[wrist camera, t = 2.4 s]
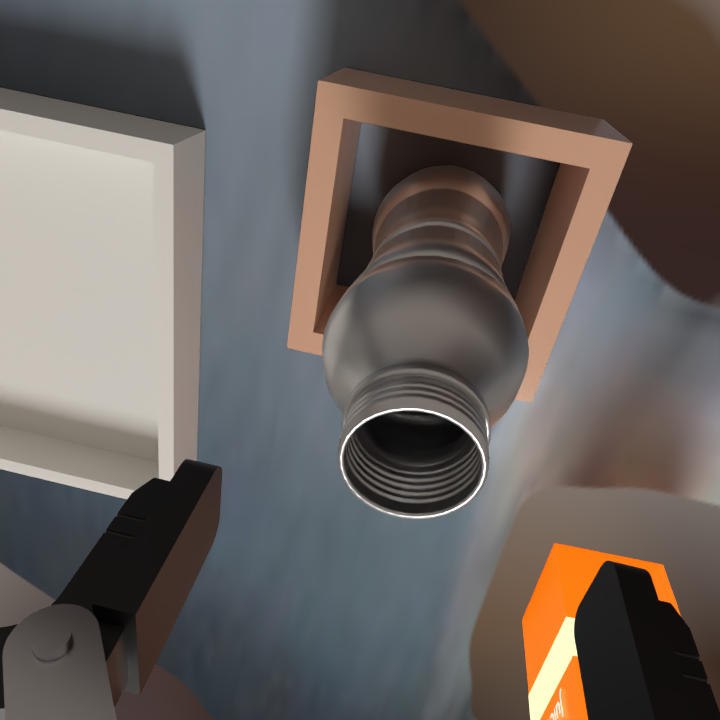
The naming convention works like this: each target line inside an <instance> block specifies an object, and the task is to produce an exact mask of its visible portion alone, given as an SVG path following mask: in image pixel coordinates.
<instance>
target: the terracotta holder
mask: <svg viewBox="0 0 720 720" xmlns="http://www.w3.org/2000/svg"><path fill="white" fill-rule="evenodd" d="M361 122H364V123H369V124H374V125H379V126H384V127H389V128H393V129H398V130H403V131H408V132H413V133H418V134H423V135H428V136H433V137H437V138H442V139H447V140H452V141H457V142H462V143H467V144H472V145H476V146H481V147H486V148H491V149H496V150H501V151H506V152H511V153H516V154H520V155H525V156H530V157H535V158H540V159H545V160H550V161H555V162H559V163H560V166H559V169H558V172H557V175H556V178H555V181H554V184H553V187H552V190H551V193H550V196H549V199H548V202H547V205H546V208H545V211H544V214H543V217H542V220H541V223H540V226H539V229H538V232H537V235H536V238H535V241H534V244H533V247H532V250H531V253H530V256H529V259H528V262H527V265H526V268H525V271H524V274H523V277H522V279H521V282H520V285H519V288H518V291H517V294H516V297H515V300H514V301H515V303H516V305H517V307H518V309H519V312H520V315H521V317H522V320H523V323H524V326H525V330H526V332H527V337H528V345H529V358H528V366H527V371H526V373H525V376H524V379H523V382H522V384H521V387H520V389H519V391H518V393H517V396H516V398H515V399H517V400H522V401H526V402H532V400H533V397H534V395H535V392H536V390H537V387H538V384H539V382H540V379H541V377H542V374H543V372H544V369H545V367H546V364H547V361H548V359H549V356H550V354H551V351H552V349H553V346H554V343H555V341H556V338H557V336H558V333H559V331H560V328H561V326H562V323H563V320H564V318H565V315H566V313H567V310H568V308H569V305H570V303H571V300H572V297H573V295H574V292H575V290H576V287H577V285H578V282H579V279H580V277H581V274H582V272H583V269H584V267H585V264H586V262H587V259H588V256H589V254H590V251H591V249H592V246H593V244H594V241H595V239H596V236H597V233H598V231H599V228H600V226H601V223H602V221H603V218H604V215H605V213H606V210H607V208H608V205H609V203H610V200H611V198H612V195H613V192H614V190H615V187H616V185H617V182H618V180H619V177H620V175H621V172H622V169H623V167H624V164H625V162H626V159H627V157H628V154H629V151H630V148H631V146H632V143H631V142H630V141H629V140H627V139H626V138H625V137H624V136H622V135H621V134H620V133H619V132H617V131H616V130H615V129H614V128H613V127H611V126H610V125H609V124H607V123H606V122H605V121H604V120H603V119H599V118H594V117H589V116H584V115H579V114H574V113H569V112H564V111H559V110H554V109H549V108H544V107H539V106H534V105H529V104H524V103H519V102H514V101H509V100H504V99H499V98H494V97H489V96H484V95H479V94H474V93H469V92H464V91H459V90H454V89H449V88H444V87H440V86H435V85H430V84H425V83H420V82H415V81H410V80H405V79H400V78H395V77H390V76H385V75H380V74H375V73H370V72H365V71H360V70H355V69H350V68H343V69H341V70H338V71H336V72H334V73H332V74H330V75H328V76H326V77H324V78H322V79H319V80H318V86H317V95H316V103H315V112H314V120H313V129H312V137H311V146H310V155H309V163H308V172H307V180H306V189H305V198H304V206H303V215H302V223H301V232H300V241H299V249H298V258H297V266H296V275H295V283H294V292H293V301H292V309H291V318H290V326H289V335H288V344H287V348H290V349H294V350H299V351H303V352H308V353H312V354H317V355H321V356H322V342H323V335H324V330H325V327H326V325H327V322H328V320H329V317H330V315H331V313H332V312H333V310H334V309H335V307H336V305H337V304H338V302H339V301H340V299H341V298H342V296H343V295H344V293H345V292H346V291H347V289H348V288H349V287H346V286H342V285H337V284H336V282H337V275H338V269H339V262H340V256H341V250H342V243H343V237H344V231H345V224H346V218H347V211H348V205H349V199H350V192H351V186H352V179H353V173H354V167H355V160H356V154H357V148H358V141H359V135H360V128H361Z"/></svg>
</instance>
